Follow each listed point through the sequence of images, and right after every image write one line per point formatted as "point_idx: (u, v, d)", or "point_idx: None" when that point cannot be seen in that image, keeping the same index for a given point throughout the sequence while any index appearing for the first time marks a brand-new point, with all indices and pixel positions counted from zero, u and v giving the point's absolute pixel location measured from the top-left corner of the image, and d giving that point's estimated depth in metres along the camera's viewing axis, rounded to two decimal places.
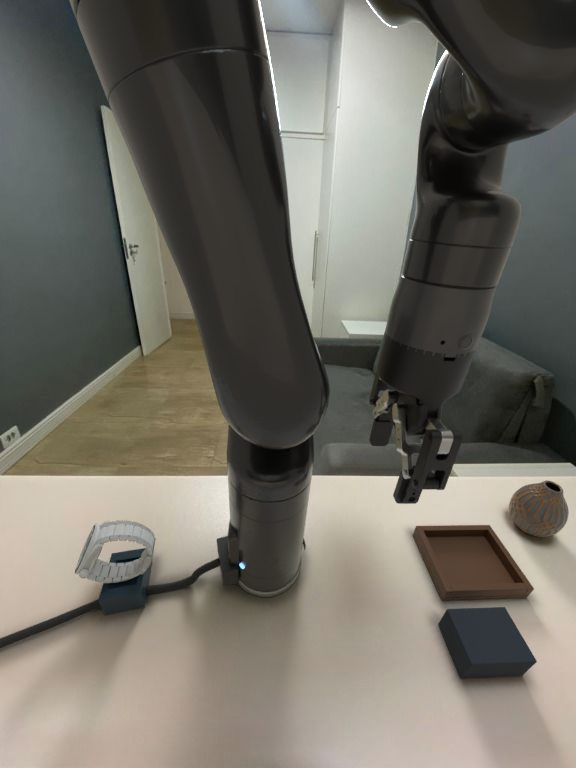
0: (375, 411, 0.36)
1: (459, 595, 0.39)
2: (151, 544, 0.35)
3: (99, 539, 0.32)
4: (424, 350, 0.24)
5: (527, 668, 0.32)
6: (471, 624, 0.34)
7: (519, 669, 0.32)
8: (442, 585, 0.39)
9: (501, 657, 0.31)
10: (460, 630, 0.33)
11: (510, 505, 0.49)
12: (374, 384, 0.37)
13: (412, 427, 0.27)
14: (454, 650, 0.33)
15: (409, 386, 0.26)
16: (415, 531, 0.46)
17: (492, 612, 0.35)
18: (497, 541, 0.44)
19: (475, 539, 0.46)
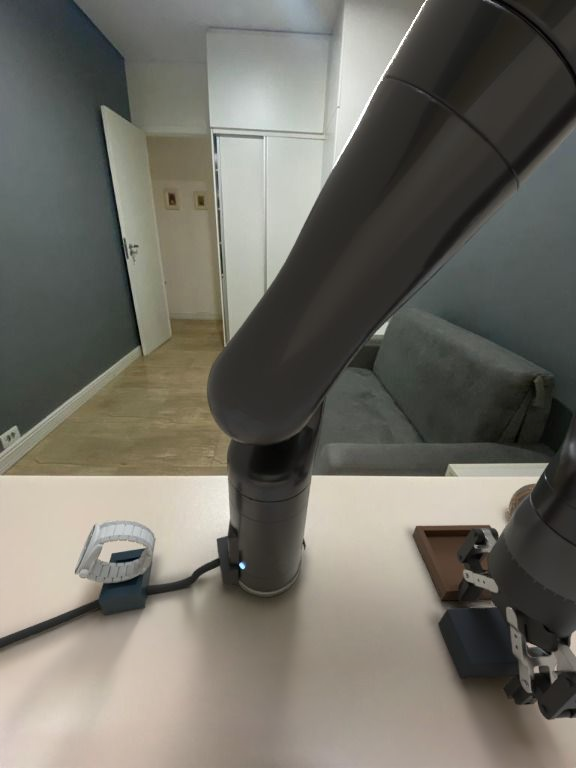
0: (468, 575, 0.35)
1: None
2: (151, 544, 0.35)
3: (99, 539, 0.32)
4: (565, 597, 0.23)
5: None
6: (471, 624, 0.34)
7: None
8: (442, 585, 0.39)
9: (501, 657, 0.31)
10: (460, 630, 0.33)
11: (510, 505, 0.49)
12: (465, 546, 0.36)
13: (536, 644, 0.27)
14: (454, 650, 0.33)
15: (540, 617, 0.25)
16: (415, 531, 0.46)
17: (492, 612, 0.35)
18: None
19: None
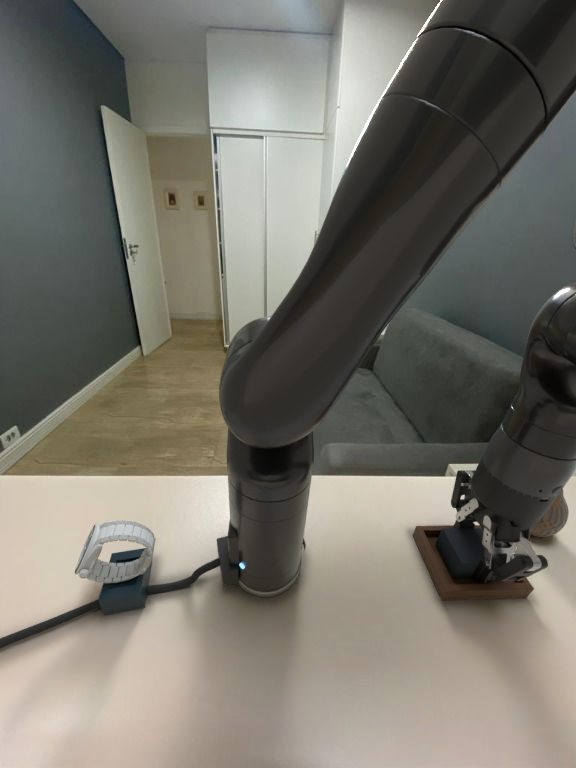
0: (460, 517, 0.43)
1: (459, 595, 0.39)
2: (151, 544, 0.35)
3: (99, 539, 0.32)
4: (524, 493, 0.32)
5: None
6: (462, 538, 0.42)
7: None
8: (442, 585, 0.39)
9: None
10: (452, 542, 0.41)
11: None
12: (455, 489, 0.44)
13: (505, 539, 0.35)
14: (448, 558, 0.42)
15: (507, 513, 0.33)
16: (415, 531, 0.46)
17: (479, 531, 0.43)
18: None
19: None
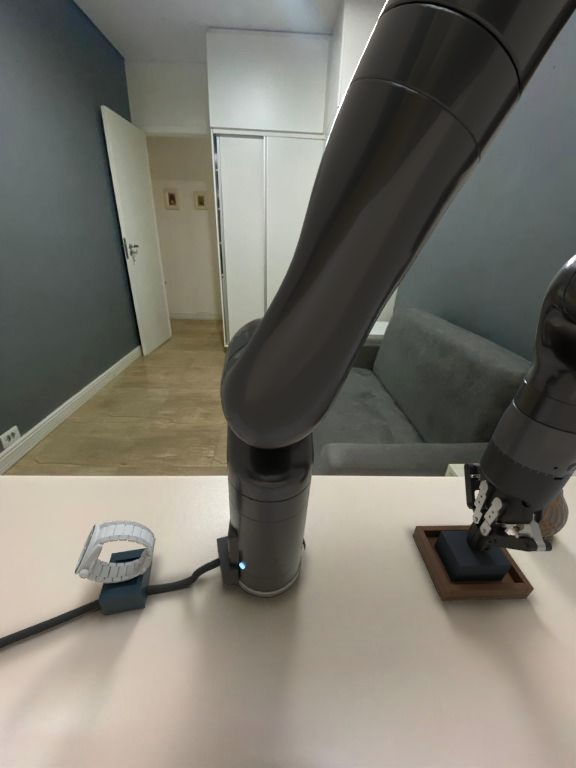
0: (477, 518, 0.40)
1: (459, 595, 0.39)
2: (151, 544, 0.35)
3: (99, 539, 0.32)
4: (538, 471, 0.30)
5: (504, 572, 0.40)
6: (460, 540, 0.42)
7: (498, 573, 0.40)
8: (442, 585, 0.39)
9: (484, 562, 0.39)
10: (451, 544, 0.41)
11: None
12: (467, 486, 0.42)
13: (517, 521, 0.34)
14: (447, 561, 0.42)
15: (520, 493, 0.32)
16: (415, 531, 0.46)
17: None
18: None
19: None
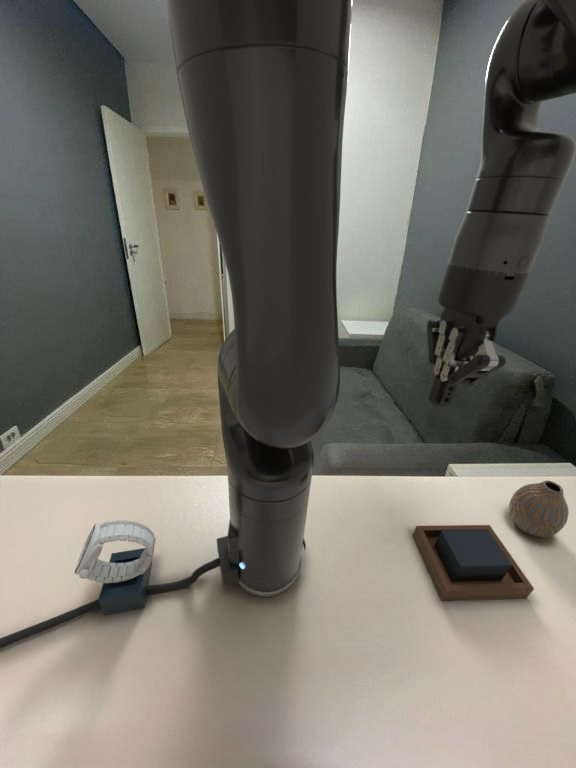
0: (438, 368, 0.39)
1: (459, 595, 0.39)
2: (151, 544, 0.35)
3: (99, 539, 0.32)
4: (488, 270, 0.29)
5: (504, 572, 0.40)
6: (460, 540, 0.42)
7: (498, 573, 0.40)
8: (442, 585, 0.39)
9: (484, 562, 0.39)
10: (451, 544, 0.41)
11: (510, 505, 0.49)
12: (430, 343, 0.41)
13: (472, 343, 0.33)
14: (447, 561, 0.42)
15: (472, 305, 0.31)
16: (415, 531, 0.46)
17: (478, 533, 0.43)
18: (497, 541, 0.44)
19: None
